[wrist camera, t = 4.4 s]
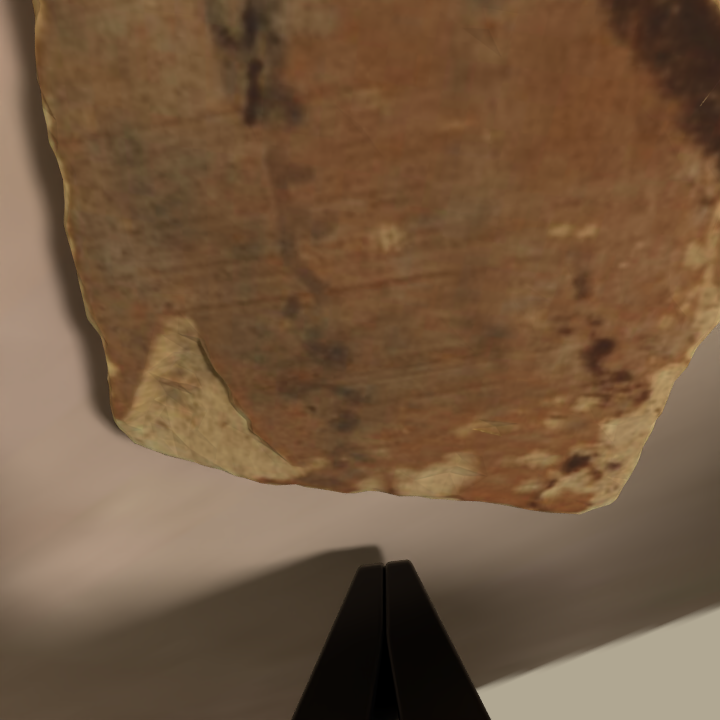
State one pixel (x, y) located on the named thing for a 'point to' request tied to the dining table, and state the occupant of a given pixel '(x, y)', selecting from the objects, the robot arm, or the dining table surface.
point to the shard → (392, 232)
